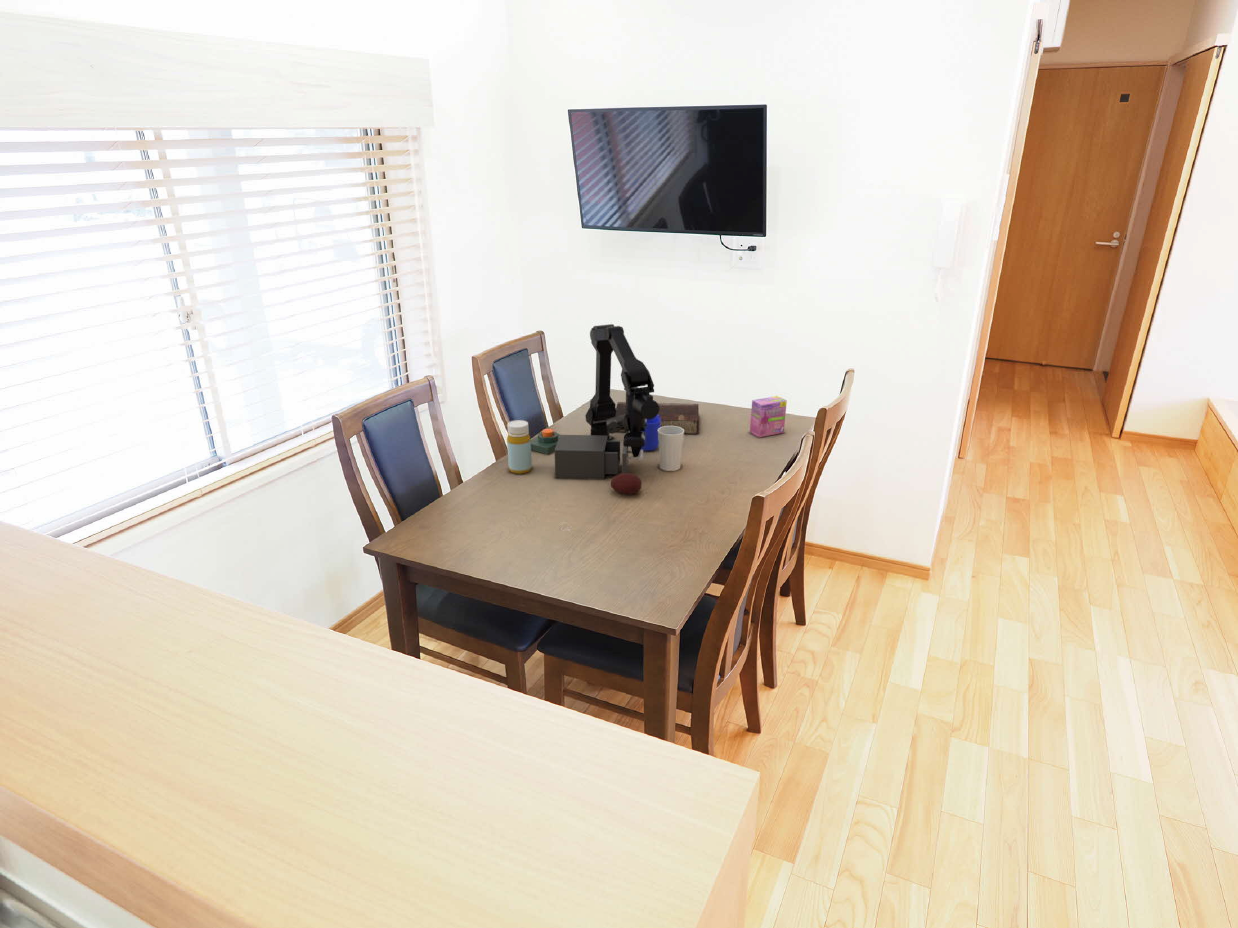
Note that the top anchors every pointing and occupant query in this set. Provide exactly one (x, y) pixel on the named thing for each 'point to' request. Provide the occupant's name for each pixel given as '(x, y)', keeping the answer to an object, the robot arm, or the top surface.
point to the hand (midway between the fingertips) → (635, 457)
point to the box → (768, 416)
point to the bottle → (519, 447)
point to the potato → (626, 483)
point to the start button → (548, 432)
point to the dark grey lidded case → (580, 457)
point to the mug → (652, 434)
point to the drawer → (617, 457)
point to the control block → (545, 443)
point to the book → (673, 415)
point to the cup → (670, 447)
